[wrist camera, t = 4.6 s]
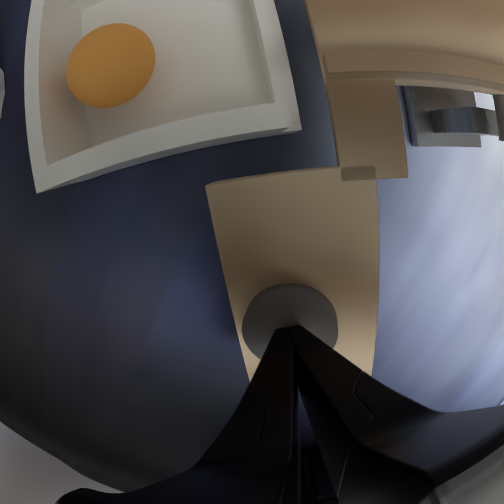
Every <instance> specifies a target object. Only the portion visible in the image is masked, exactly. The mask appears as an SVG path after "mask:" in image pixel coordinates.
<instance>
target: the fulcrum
mask: <svg viewBox="0 0 504 504" xmlns="http://www.w3.org/2000/svg"><path fill="white" fill-rule="evenodd" d="M402 86H403V91H404V96H405V102H406V107H407V113H408V120H409V127H410V134H411V142H412V146H460V147H481V139H480V135H490V136H499V134H498V125H497V118H496V111H493V110H489V109H484V108H478V107H476V103H475V97H474V92H473V91H467V90H459V89H450V88H440V87H426V86H404V85H402Z"/></svg>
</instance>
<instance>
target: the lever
mask: <svg viewBox="0 0 504 504" xmlns="http://www.w3.org/2000/svg"><path fill="white" fill-rule="evenodd" d="M303 2H304V5H305V9H306V12H307V15H308V19H309V22H310V26H311V30H312V34H313V37H314V41H315V45H316V49H317V53H318V58H319V62H320V66H321V71H322V75H323V80H324V85H325V89H326V94H327V100H328V105H329V111H330V116H331V122H332V128H333V135H334V141H335V148H336V156H337V163H338V165H337V166H326V167H316V168H306V169H298V170H289V171H281V172H273V173H266V174H259V175H252V176H245V177H239V178H233V179H226V180H220V181H215V182H212V183H210V184H208V185H205V188H206V193H207V198H208V203H209V208H210V213H211V218H212V223H213V227H214V232H215V237H216V242H217V246H218V251H219V255H220V260H221V264H222V269H223V273H224V278H225V282H226V287H227V291H228V295H229V300H230V304H231V308H232V312H233V317H234V321H235V325H236V329H237V333H238V337H239V341H240V345H241V349H242V353H243V357H244V361H245V365H246V369H247V373H248V377H249V381H251V379H252V377H253V375H254V373H255V371H256V369H257V366H258V364H259V362H260V360H261V358H262V356H263V354H264V352H265V349H266V347H267V345H268V343H269V341H270V339H271V336H272V334H273V332H274V330H275V329H277V328H283V327H287V328H288V327H289V326H294V325H302V326H303V327H304V328H306V329H307V330H308V331H310V332H311V333H312V334H314V335H315V336H316V337H318V338H319V339H320V340H322V341H323V342H325V343H326V344H327V345H329V346H330V347H331V348H333V349H334V350H335V351H337V352H338V353H340V354H341V355H342V356H344V357H345V358H346V359H348V360H349V361H351V362H352V363H353V364H355V365H356V366H357V367H359V368H360V369H362V371H365V372H366V373H367V374H369V375H370V376H371V374H372V366H373V358H374V349H375V340H376V329H377V315H378V298H379V214H378V196H377V183H376V179H388V178H408V169H407V157H406V148H405V139H404V131H403V124H402V118H401V111H400V106H399V100H398V95H397V90H396V85H404V86H426V87H440V88H450V89H459V90H467V91H474V92H480V93H486V94H492V95H493V99H494V105H495V111H496V118H497V125H498V134H499V140H500V141H504V0H303Z"/></svg>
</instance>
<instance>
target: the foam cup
mask: <svg viewBox="0 0 504 504" xmlns="http://www.w3.org/2000/svg"><path fill="white" fill-rule="evenodd" d="M4 95H5V87H4V72H3V71H2V69H1V68H0V118H1V112H2V106H3V100H4Z"/></svg>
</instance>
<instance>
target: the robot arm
mask: <svg viewBox="0 0 504 504" xmlns="http://www.w3.org/2000/svg"><path fill="white" fill-rule="evenodd" d="M298 389H299V392H300V395H301V398H302V401H303V404H304V406H305V409H306V412H307V415H308V418H309V420H310V423H311V426H312V429H313V432H314V435H315V437H316V440H317V443H318V446H319V448H315V449H310V450H305V451H300V420H299V396H298ZM55 504H504V405H499V406H494V407H488V408H482V409H475V410H468V411H459V412H440V411H436V410H433V409H430V408H428V407H426V406H424V405H422V404H420V403H418V402H416V401H414V400H412V399H410V398H408V397H406V396H404V395H402V394H400V393H398V392H396V391H395V390H393V389H391V388H389V387H387V386H386V385H384V384H382V383H381V382H379V381H378V380H376V379H375V378H373V377H372V376H370V375H369V374H367V373H366V372H365V371H362V369H360V368H359V367H357V366H356V365H355V364H353V363H352V362H351V361H349V360H348V359H346V358H345V357H344V356H342V355H341V354H340V353H338V352H337V351H335V350H334V349H333V348H331V347H330V346H329V345H327V344H326V343H325V342H323V341H322V340H320V339H319V338H318V337H316V336H315V335H314V334H312V333H311V332H310V331H308V330H307V329H306V328H304V327H303V326H302V325H294V326H289V327H288V328H287V327H283V328H277V329H275V330H274V332H273V334H272V336H271V339H270V341H269V343H268V345H267V347H266V349H265V352H264V354H263V356H262V358H261V360H260V362H259V364H258V366H257V369H256V371H255V373H254V375H253V377H252V379H251V381H250V383H249V385H248V387H247V389H246V391H245V393H244V395H243V397H242V399H241V401H240V403H239V405H238V407H237V408H236V410H235V412H234V414H233V415H232V417H231V418H230V420H229V421H228V423H227V424H226V426H225V427H224V429H223V430H222V431H221V433H220V434H219V435H218V437H217V438H216V439H215V441H214V442H213V443H212V445H211V446H210V447H209V448H208V450H207V451H206V452H205V454H204V455H203V456H202V457H201V459H200V460H199V461H198V462H197V463H196V464H195V465H194V466H192V467H191V468H190V469H188V470H187V471H185V472H182V473H180V474H178V475H175V476H173V477H170V478H168V479H165V480H163V481H160V482H157V483H155V484H152V485H149V486H146V487H144V488H141V489H138V490H135V491H131V492H126V493H104V492H100V491H96V490H92V489H88V488H80V489H77V490H74V491H71V492H69V493H67V494H65V495H63V496H62V497H60V498H59V499H58V500H57V501H56V503H55Z"/></svg>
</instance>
